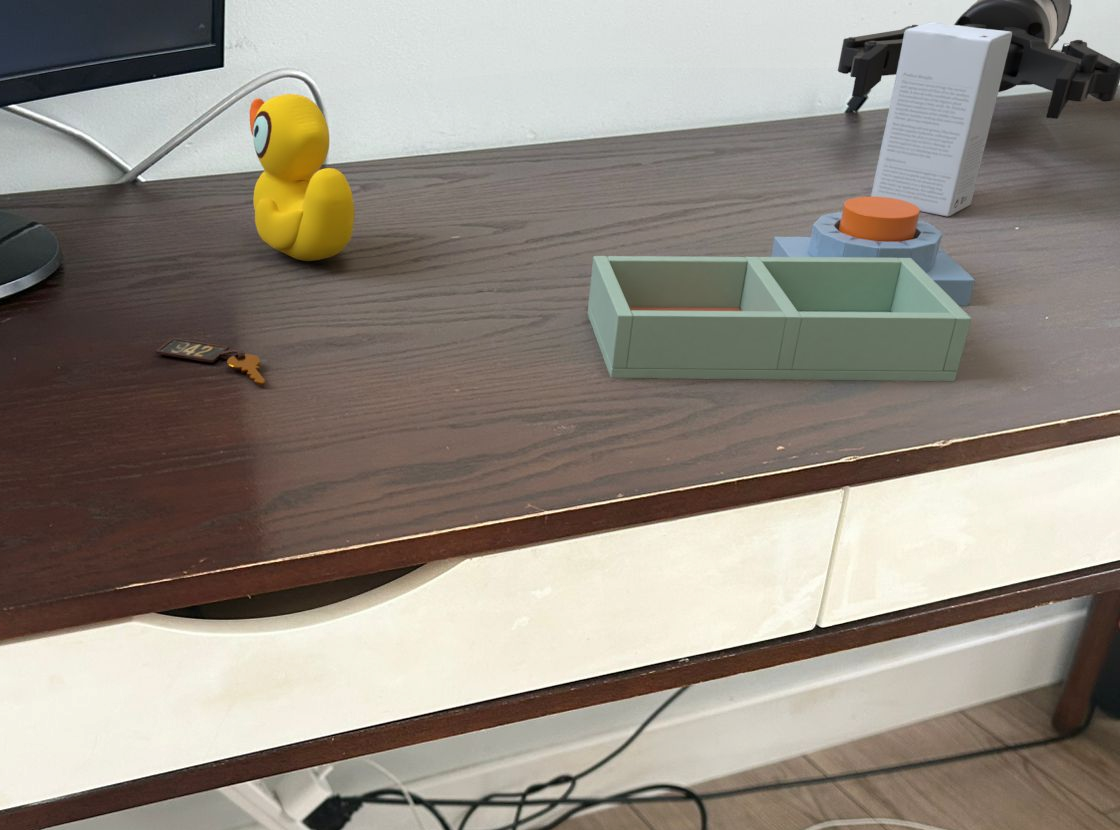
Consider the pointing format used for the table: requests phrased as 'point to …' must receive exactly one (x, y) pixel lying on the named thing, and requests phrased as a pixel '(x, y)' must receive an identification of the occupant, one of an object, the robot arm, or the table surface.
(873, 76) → the robot arm
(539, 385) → the table surface
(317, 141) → the duckling
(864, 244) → the button base
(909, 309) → the tray
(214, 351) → the key tag
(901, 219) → the button
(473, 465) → the table surface
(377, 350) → the table surface
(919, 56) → the cosmetic box
